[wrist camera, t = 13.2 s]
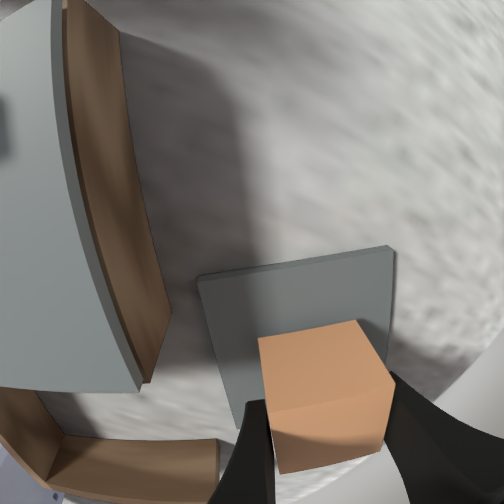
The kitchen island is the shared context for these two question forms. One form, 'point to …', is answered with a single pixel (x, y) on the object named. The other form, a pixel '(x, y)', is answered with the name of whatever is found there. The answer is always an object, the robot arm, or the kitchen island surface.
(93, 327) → the slide cover
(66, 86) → the wooden box
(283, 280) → the mat
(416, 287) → the kitchen island surface
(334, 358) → the block
